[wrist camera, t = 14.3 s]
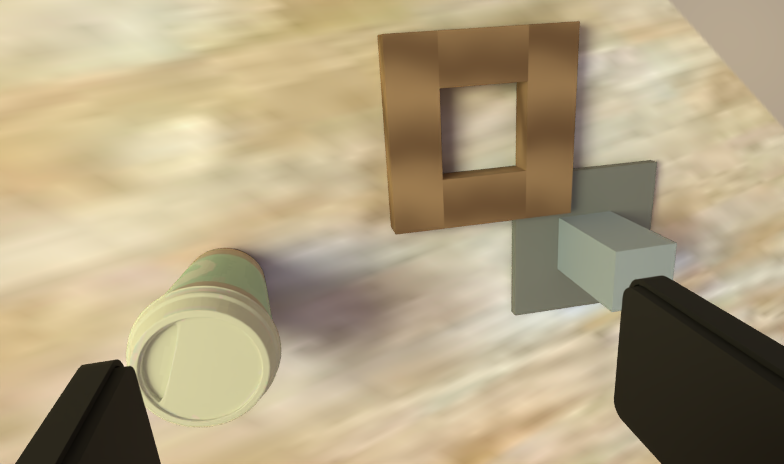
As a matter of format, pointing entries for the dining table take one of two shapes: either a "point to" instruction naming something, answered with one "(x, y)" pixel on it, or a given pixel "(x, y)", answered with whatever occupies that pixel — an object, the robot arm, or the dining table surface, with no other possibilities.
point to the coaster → (540, 234)
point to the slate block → (611, 254)
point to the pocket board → (533, 123)
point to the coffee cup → (207, 342)
